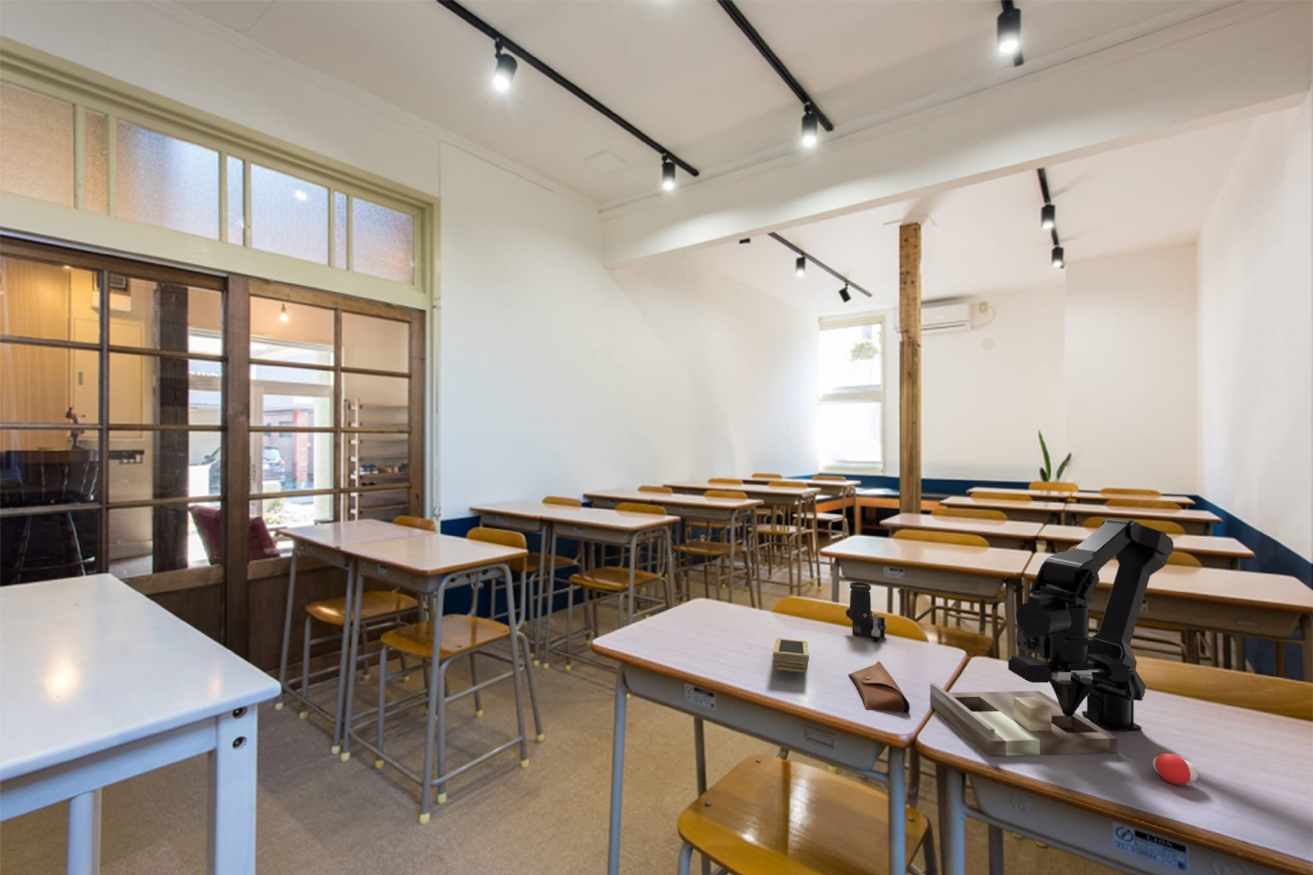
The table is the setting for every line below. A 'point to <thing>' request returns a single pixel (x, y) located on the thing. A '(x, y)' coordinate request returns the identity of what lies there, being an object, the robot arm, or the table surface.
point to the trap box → (1018, 725)
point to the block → (1032, 713)
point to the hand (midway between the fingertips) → (1067, 715)
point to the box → (791, 655)
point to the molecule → (1175, 769)
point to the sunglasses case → (879, 690)
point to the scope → (864, 613)
